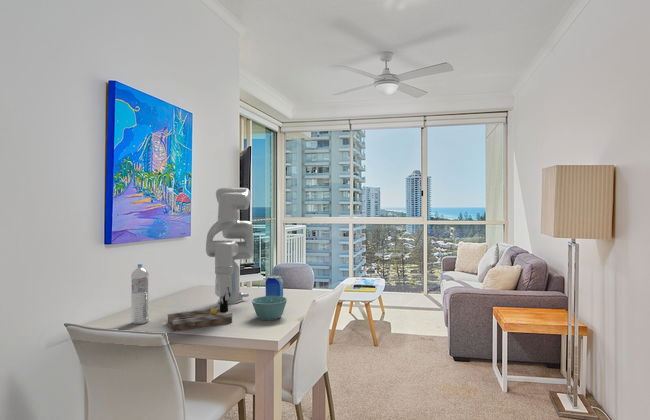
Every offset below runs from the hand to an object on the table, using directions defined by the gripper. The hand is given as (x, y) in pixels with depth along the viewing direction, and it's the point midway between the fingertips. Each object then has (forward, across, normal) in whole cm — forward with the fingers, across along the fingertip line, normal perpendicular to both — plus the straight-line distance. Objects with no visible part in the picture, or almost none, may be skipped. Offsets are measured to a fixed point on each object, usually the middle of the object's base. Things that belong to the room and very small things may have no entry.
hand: (223, 311), depth 184 cm
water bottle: (+4, -14, -32) cm, 35 cm away
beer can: (+4, -6, +27) cm, 27 cm away
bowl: (+4, +7, +19) cm, 20 cm away
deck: (+3, 0, -10) cm, 11 cm away
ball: (-1, 0, -4) cm, 4 cm away
